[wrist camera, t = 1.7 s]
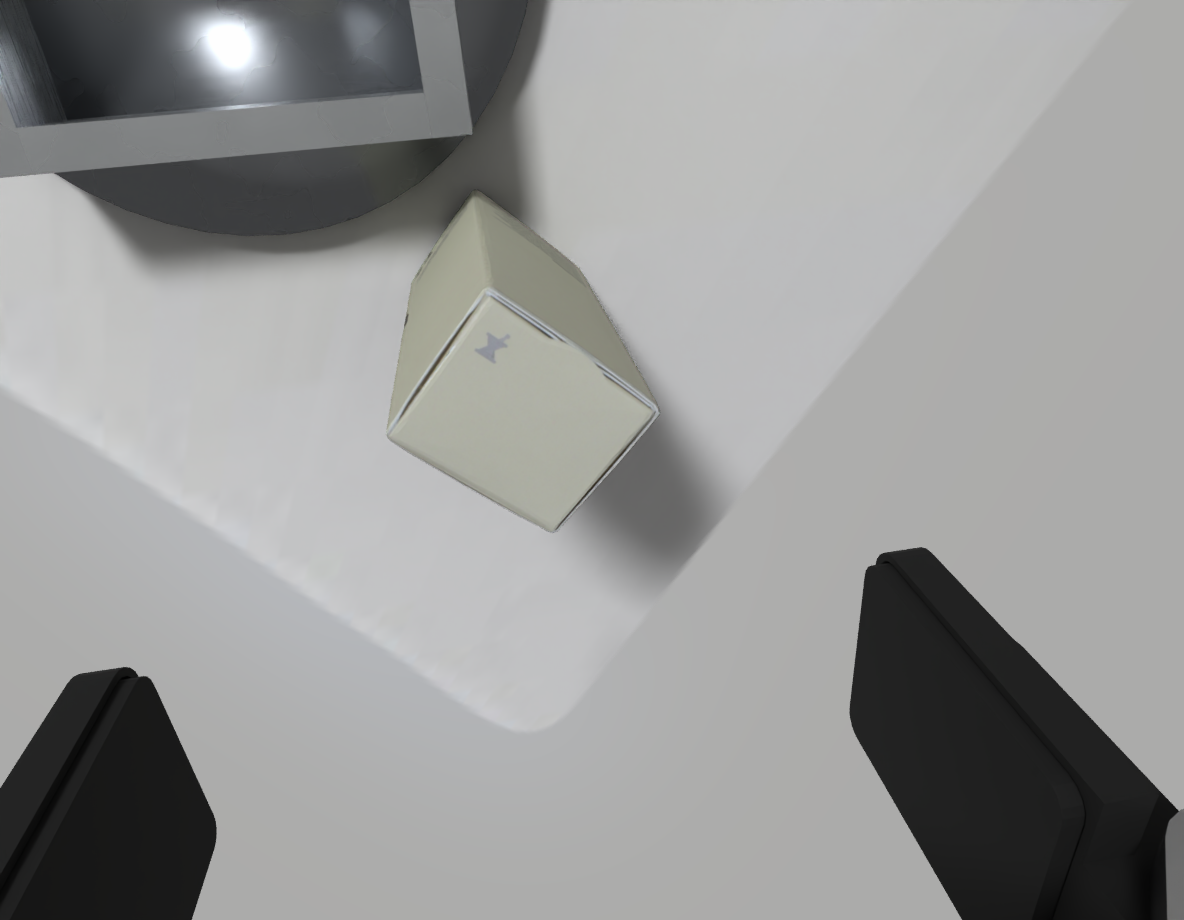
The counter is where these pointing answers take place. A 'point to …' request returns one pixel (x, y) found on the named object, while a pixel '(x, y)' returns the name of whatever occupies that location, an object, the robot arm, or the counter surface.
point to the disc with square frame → (246, 101)
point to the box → (513, 370)
